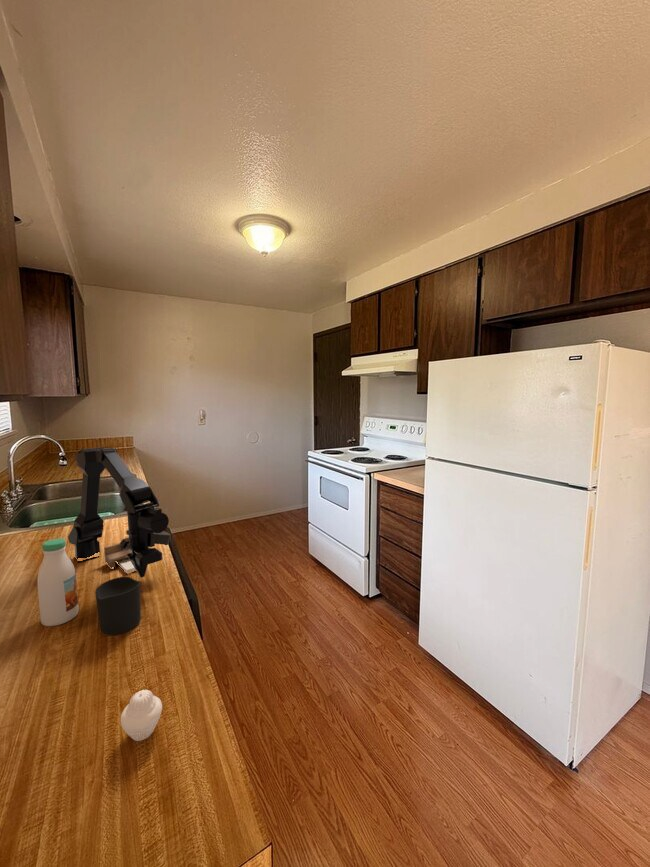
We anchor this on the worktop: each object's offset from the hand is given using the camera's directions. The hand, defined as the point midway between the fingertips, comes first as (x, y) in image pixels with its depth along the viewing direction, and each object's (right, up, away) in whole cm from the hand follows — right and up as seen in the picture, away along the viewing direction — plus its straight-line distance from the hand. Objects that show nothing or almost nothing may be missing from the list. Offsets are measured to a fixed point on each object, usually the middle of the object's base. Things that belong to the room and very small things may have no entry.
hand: (142, 576), depth 109 cm
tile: (-9, -1, +10) cm, 13 cm away
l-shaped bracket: (-11, 0, +11) cm, 16 cm away
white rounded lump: (+25, -6, -49) cm, 56 cm away
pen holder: (+5, -4, -21) cm, 22 cm away
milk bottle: (-11, -3, -18) cm, 22 cm away
